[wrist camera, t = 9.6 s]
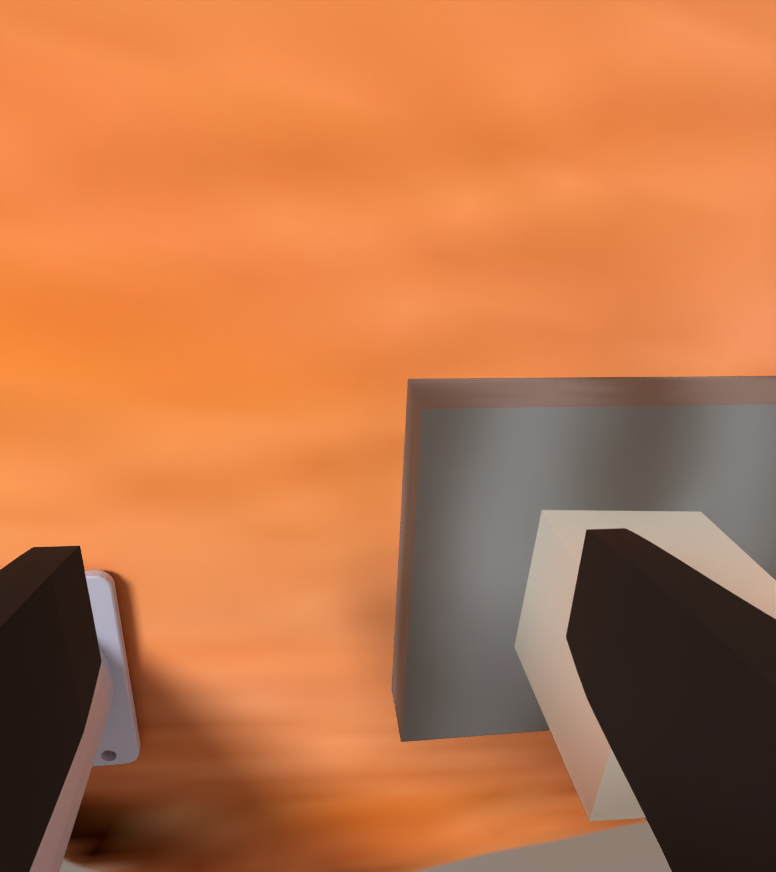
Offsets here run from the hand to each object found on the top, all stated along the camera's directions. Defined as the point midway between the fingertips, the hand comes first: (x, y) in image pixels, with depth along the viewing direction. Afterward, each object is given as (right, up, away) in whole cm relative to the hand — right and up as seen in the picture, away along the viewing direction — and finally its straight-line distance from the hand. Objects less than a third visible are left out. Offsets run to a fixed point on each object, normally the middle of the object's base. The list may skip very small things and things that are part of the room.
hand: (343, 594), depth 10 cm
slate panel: (+7, -1, +14) cm, 15 cm away
